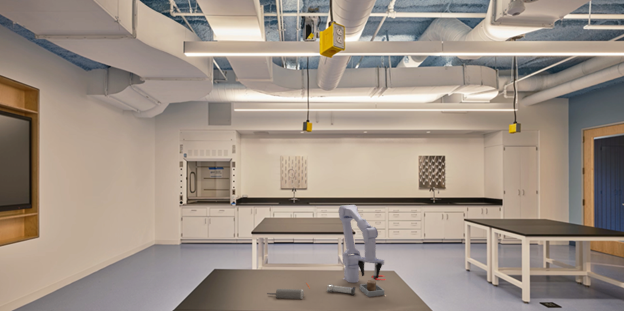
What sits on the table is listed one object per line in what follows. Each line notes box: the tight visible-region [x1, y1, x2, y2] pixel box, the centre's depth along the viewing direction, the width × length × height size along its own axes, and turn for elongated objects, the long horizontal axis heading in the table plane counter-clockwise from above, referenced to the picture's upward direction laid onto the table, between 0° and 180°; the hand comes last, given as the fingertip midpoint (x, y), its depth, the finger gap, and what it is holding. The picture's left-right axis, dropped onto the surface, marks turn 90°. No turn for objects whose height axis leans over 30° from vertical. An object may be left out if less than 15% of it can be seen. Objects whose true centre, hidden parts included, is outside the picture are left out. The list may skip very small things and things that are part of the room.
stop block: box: [366, 279, 377, 291], centre depth 180 cm, size 4×4×5 cm
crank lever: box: [326, 283, 356, 296], centre depth 179 cm, size 15×4×3 cm, turn 71°
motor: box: [266, 282, 310, 300], centre depth 183 cm, size 23×22×5 cm
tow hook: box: [371, 257, 387, 281], centre depth 203 cm, size 8×13×9 cm
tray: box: [359, 283, 385, 297], centre depth 180 cm, size 11×9×2 cm
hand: (370, 276), depth 180 cm, fingers open, 7 cm apart
